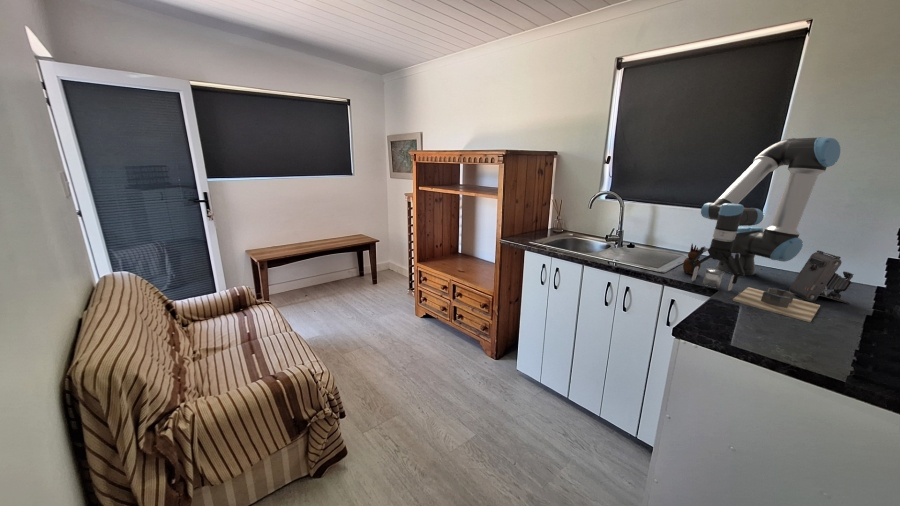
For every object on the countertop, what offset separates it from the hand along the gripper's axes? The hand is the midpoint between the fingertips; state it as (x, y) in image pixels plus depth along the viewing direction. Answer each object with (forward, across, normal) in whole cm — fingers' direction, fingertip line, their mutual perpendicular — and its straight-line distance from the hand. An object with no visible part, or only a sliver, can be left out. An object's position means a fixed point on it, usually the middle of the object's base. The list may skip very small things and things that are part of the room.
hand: (710, 284), depth 150 cm
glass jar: (0, 0, 0) cm, 0 cm away
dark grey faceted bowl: (0, +22, -2) cm, 22 cm away
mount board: (0, +22, -2) cm, 22 cm away
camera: (0, +31, +22) cm, 38 cm away
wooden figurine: (0, -12, +11) cm, 16 cm away
